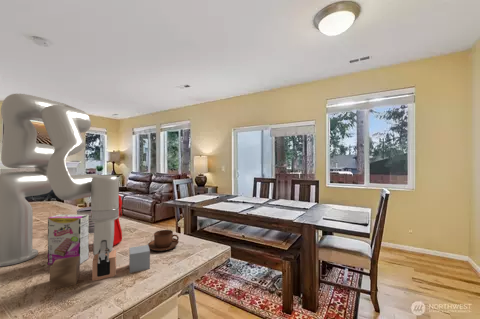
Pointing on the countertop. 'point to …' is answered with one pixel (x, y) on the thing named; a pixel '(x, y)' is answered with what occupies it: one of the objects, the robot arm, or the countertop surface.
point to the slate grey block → (139, 258)
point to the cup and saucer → (163, 240)
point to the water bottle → (118, 226)
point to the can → (88, 212)
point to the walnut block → (64, 272)
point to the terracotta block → (112, 266)
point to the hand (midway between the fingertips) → (105, 268)
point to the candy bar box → (68, 237)
